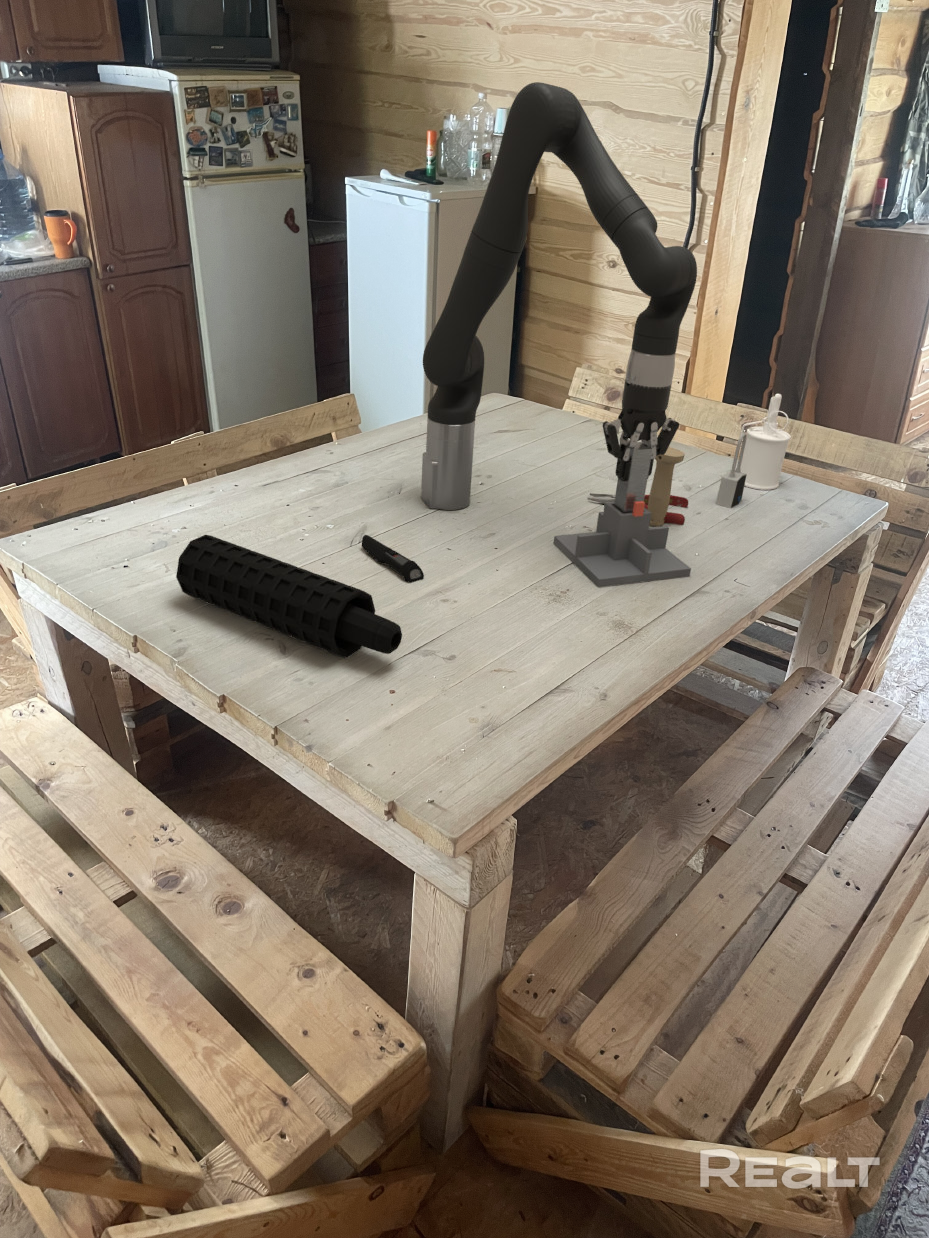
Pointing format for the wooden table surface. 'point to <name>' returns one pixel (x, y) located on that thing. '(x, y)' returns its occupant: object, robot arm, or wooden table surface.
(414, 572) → the electric trimmer
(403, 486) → the wooden table surface
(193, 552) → the roller
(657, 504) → the handle
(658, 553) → the stand
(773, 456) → the white oil can
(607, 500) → the pliers
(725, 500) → the padlock
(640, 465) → the column
